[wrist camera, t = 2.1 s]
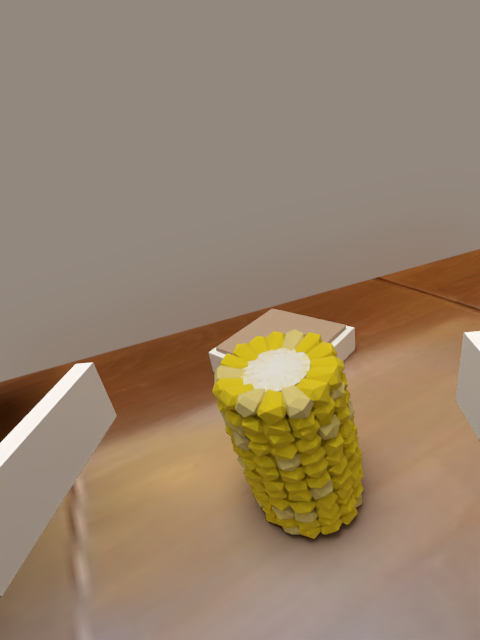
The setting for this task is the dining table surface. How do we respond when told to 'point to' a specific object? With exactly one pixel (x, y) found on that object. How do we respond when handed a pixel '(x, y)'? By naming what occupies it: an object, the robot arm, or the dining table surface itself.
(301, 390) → the food
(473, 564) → the dining table surface
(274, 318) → the plinth
